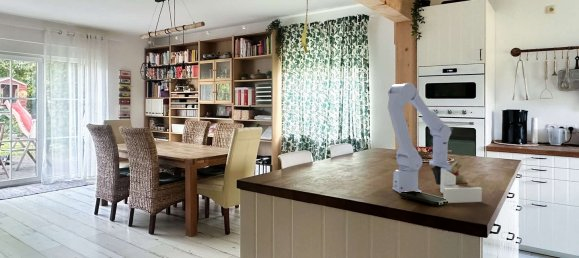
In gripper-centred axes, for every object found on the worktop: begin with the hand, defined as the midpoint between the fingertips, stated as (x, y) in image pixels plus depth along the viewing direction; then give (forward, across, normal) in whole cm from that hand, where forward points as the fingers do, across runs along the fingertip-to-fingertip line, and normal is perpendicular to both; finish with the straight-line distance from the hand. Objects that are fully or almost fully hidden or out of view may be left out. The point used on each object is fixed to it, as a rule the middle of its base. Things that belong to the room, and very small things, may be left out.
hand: (439, 184), depth 160 cm
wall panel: (+2, -22, +3) cm, 22 cm away
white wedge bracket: (+2, -8, 0) cm, 8 cm away
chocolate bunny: (+2, +12, -15) cm, 19 cm away
